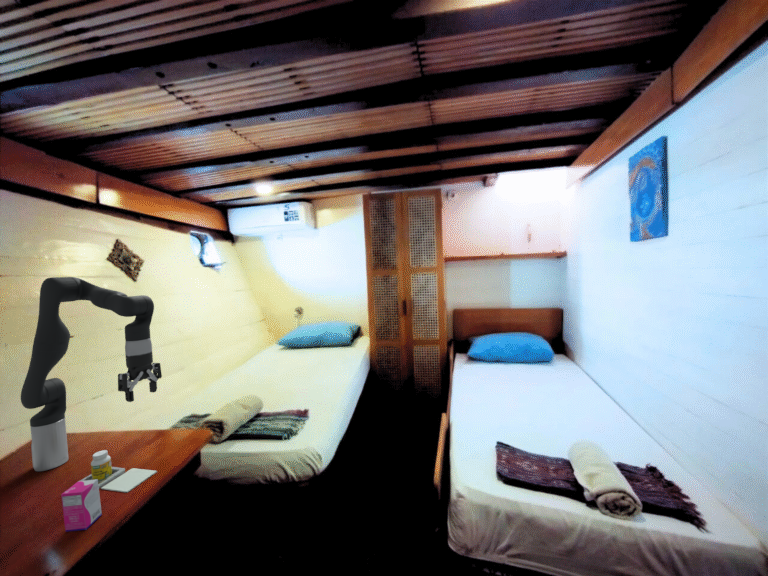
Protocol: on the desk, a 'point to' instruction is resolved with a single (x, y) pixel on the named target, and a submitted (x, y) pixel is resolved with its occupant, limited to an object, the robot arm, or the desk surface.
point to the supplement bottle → (101, 465)
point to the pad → (129, 480)
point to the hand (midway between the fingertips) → (142, 396)
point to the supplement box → (81, 505)
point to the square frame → (115, 470)
